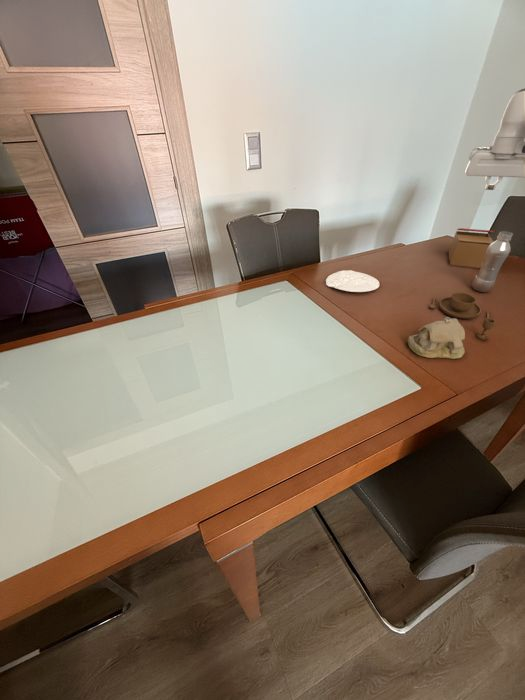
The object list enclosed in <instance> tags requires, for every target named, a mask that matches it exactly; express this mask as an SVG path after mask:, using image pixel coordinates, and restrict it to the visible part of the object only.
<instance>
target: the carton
mask: <svg viewBox="0 0 525 700" xmlns="http://www.w3.org/2000/svg"><path fill="white" fill-rule="evenodd" d="M493 242H494V240H493V238H492V236H490V234H489V233H488V232H476V231H463V230H456V231H455V233H454V236H453V239H452V242H451V244H450V247H449V250H448V260H449V265H451V266H458V267H466V268H467V267H468V268H477V269H481V267H482V264H483V261H484V259H485V255H486V251H487V248H488V247H489V245H490V244H492V243H493Z"/></svg>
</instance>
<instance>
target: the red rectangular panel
mask: <svg viewBox="0 0 525 700" xmlns="http://www.w3.org/2000/svg"><path fill="white" fill-rule="evenodd" d="M456 231H463V232H475V233H488V234H489V233H494V230H489V229H488V230H487V229H476V228H475V229H474V228H464V227H463V228H461V227H460V228H459V227H458V228H457V229H456Z"/></svg>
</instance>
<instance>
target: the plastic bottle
mask: <svg viewBox="0 0 525 700" xmlns="http://www.w3.org/2000/svg"><path fill="white" fill-rule="evenodd" d="M513 235H514V233H513V232H510V231H503V230H502V231H500V232H499V233H498V235H497V237H496V240H495V241H494V240H493V243H492V244H490V245H489V247H488V248H487V251H486V255H485V259H484V261H483V264H482V267H481V268H479V270H478V273H477V274H476V275H475V277H474V278H473V280H472V284H471V286H472V288H473V290H475V291H477V292H480V293H489V292H490V291H492V289H493V288H494V286H495V284H496V279H497V277H498V274H499V271H500V269H501V268H502V265H503V264H504V262H505V261H506V259H507V257H508V256H509V254H510V253H511V249H512V248H511V243H510V241H512V237H513Z"/></svg>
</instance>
